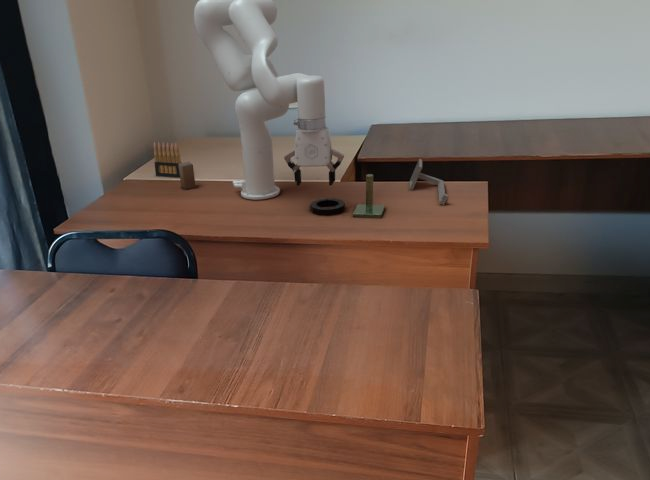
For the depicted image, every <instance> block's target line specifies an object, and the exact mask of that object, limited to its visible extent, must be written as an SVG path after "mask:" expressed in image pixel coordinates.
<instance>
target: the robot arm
mask: <svg viewBox="0 0 650 480" xmlns="http://www.w3.org/2000/svg"><path fill="white" fill-rule="evenodd" d="M193 10H194V11H193V21H194V27H195V29H196V32H197V35H198V36H199V38H200V40H201V42H202V43H203V44H204V46H205V47H206V49H207V50H208V51H209V53H210V54H211V56H212V58H213V60H214V62H215V64H216V66H217V68H218V70H219V72H220V74H221V76H222V78H223V80H224V81H225V83H226V85H227V87H228V88H229V89H230V90H231V91H233V92H242V93H241V94H239V96H238V97H237V98H236V99H235V103H234V110H235V111H234V112H235V116H236V118H237V119H236V120H237V123H238V127H239V133H240V134H239V135H240V144H241V152H242V153H241V154H242V166H243V177H244V179H242V180H238V179H237V180H236V179H234V180H232V186H233V188H234V189H240V196H241V197H242V198H243V199H247V200H252V201H253V200H255V201H257V200H258V201H260V200H269V199H272V198H275V197H277V196H279V194H280V193H281V189H280V187H279V186H278V185H276V184H275V183H276V182H275V167H274V151H273V138H272V133H271V131H270V129H269V127H268V125H267V124H266V122H268V121H271V120H274V119H278V118H281V117H283V116H285V115H286V114H287V112H288V110H289V108H290V105H291V104H295V103H297V116H298V118H297V119H293V126H297V127H298V128H297V129H296V130H295V136H294V150H291V152H288V153H287V154H286V155H284V156H283V157H284V158H283V159H284V161H285V163H286V164H287V166H288V167H289V168H290V169H291V170H292V172H293V175H294V183H295V184H296V187H298V186H300V185H301V184H302V170H301V169H300V168H301V167H303V168H304V167H305V168H307V167H308V168H309V167H326V168H327V169H328V170H329V171H328V185H329V186H330V187H331V186H333V184H334V183H335V182H336V170H337V169H338V168H339V167H340V166H341V164H342V162H343V160H344V157H345V154H344V153H342V152H340V151H338V150H336V149H334V148H332V140H331V135H330V130H329V127H328V126H327V121H326V120H327V118H326V116H327V115H326V96H325V95H326V93H325V92H326V91H325V80H324V78H323V77H322V76H321V75H308V74H306V73H301V72H296V73H290V74H285V75H280V76H279V74H278V72H277V69H276V68H275V66H274V64H273V63H272V61H271V60H270V59H269V58H268V57H270V56H271V55H272V54H273V52H274V51H275V50H276V49H277V47H278V45H279V38H278V35H277V34H276V33H275V30H274V29H273V27H272V26H271V25H273V24H274V23H275V22H276V20H277V16H278V8H277V5H276V3H275V1H274V0H198V1H197V2H196V4H195V6H194V9H193ZM225 26H233V27H234V28H235V31H236V32H237V33H238V35H239V36H240V38H241V40H242V41H243V43H244V45H245V47H246V48H247V50H248V51H249V52H250V54H246V53H244V52H243V50H242V48H241V47H240V44H239V42H238V41H237V39H236V38H235V37H234V36H233V35H232V34H231V33H230V32H229V31H227V30H226V29H225V28H223V27H225ZM243 91H244V92H243ZM293 157H294V162H293V161H292V158H293ZM333 157H335V158H337V160H336V162H333V161H332V160H333Z"/></svg>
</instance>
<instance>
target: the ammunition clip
mask: <svg viewBox="0 0 650 480" xmlns="http://www.w3.org/2000/svg"><path fill="white" fill-rule="evenodd" d="M161 143H162V145H161ZM161 143H160V141H158V142H157V143H156V142H155V141H154V142H153V157H154V163H153V164H154V170H155V176H156V177H167V178H179V179H180V174H179V166H178V164H180V163H183V162H182V161H181V154H180V149H179V145H178V143H177V142H175V143H173V142H171V143H170V144H169V142H168V141H167V142H166V144H165V142H164V141H162V142H161Z"/></svg>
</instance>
